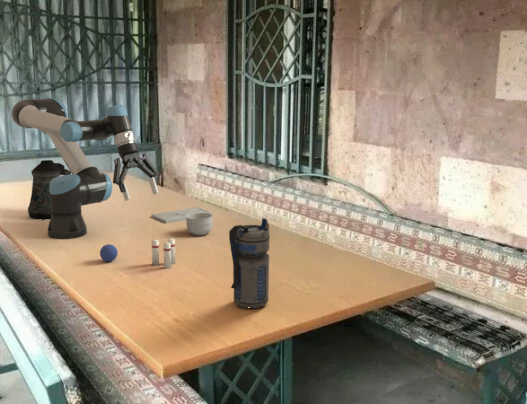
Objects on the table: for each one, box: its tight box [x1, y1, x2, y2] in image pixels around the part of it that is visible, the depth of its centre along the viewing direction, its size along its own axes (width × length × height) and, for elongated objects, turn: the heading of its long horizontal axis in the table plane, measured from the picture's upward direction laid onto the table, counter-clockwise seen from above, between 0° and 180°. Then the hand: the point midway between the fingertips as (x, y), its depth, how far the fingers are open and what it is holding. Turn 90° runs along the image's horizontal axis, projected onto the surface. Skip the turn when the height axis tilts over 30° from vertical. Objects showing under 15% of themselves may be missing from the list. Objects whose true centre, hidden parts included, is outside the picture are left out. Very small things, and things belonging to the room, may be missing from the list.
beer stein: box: [27, 159, 72, 221], centre depth 277 cm, size 16×19×25 cm
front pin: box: [151, 239, 160, 266], centre depth 213 cm, size 2×2×8 cm
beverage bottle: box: [228, 217, 271, 309], centre depth 176 cm, size 10×13×25 cm
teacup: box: [185, 212, 214, 237], centre depth 253 cm, size 14×11×8 cm
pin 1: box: [162, 242, 172, 269], centre depth 209 cm, size 2×2×8 cm
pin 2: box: [167, 238, 176, 265], centre depth 214 cm, size 2×2×8 cm
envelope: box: [151, 206, 214, 224], centre depth 280 cm, size 24×2×14 cm
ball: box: [99, 244, 118, 262], centre depth 215 cm, size 6×6×6 cm
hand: (142, 196), depth 238 cm, fingers open, 13 cm apart
